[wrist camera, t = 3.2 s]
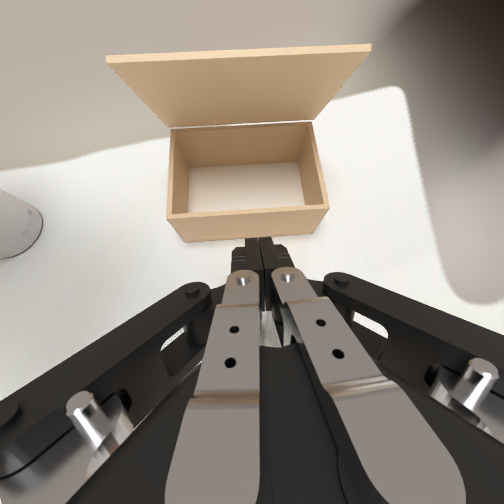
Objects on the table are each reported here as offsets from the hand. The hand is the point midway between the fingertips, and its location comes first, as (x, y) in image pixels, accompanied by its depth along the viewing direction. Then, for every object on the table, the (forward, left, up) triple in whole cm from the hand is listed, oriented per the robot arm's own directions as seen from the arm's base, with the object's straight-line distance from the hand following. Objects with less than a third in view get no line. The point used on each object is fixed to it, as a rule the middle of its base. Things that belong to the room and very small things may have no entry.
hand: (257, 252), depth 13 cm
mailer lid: (0, +19, -6) cm, 20 cm away
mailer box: (0, +16, -20) cm, 26 cm away
